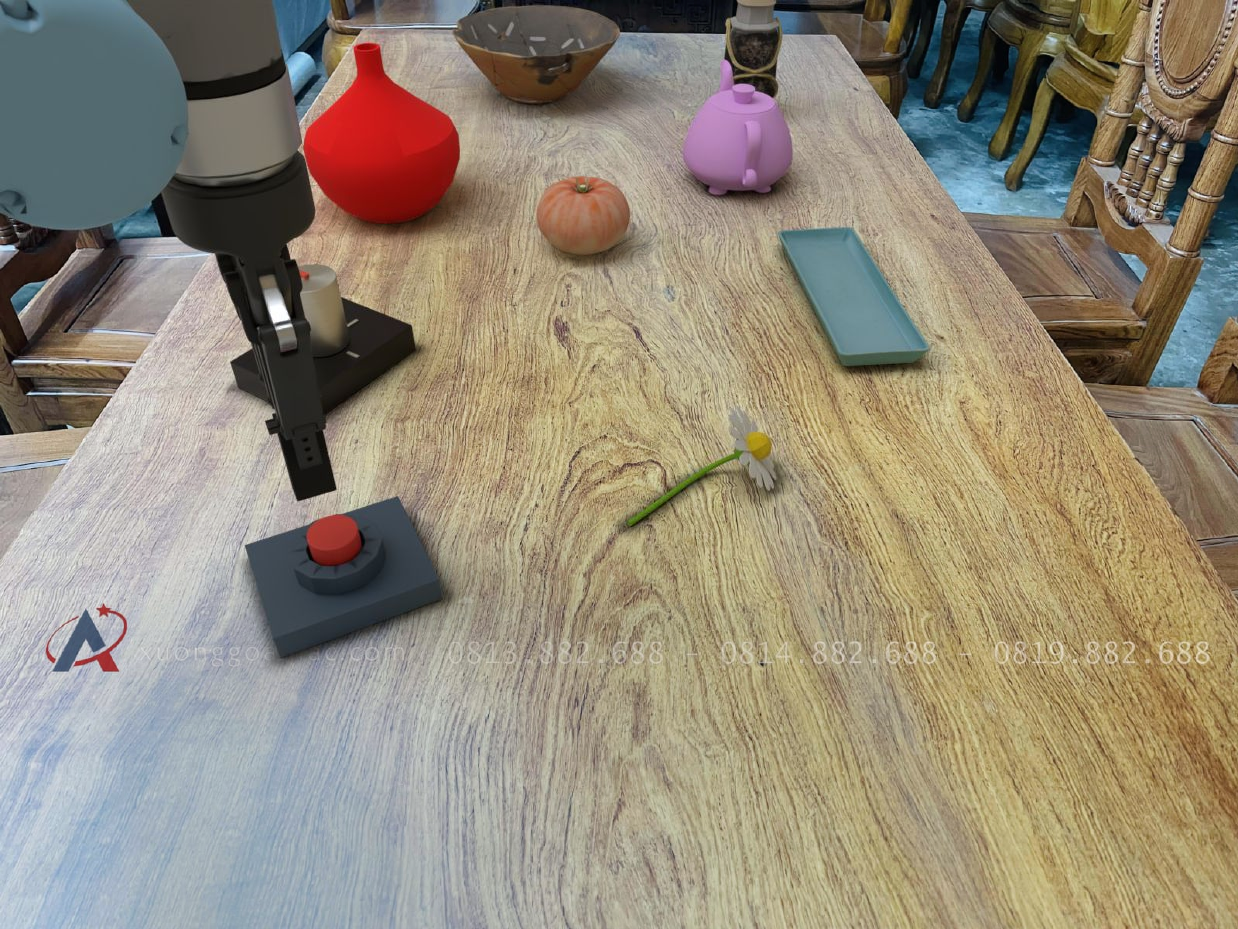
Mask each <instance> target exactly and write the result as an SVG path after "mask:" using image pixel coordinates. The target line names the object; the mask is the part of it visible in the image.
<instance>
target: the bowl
mask: <svg viewBox="0 0 1238 929" xmlns="http://www.w3.org/2000/svg"><path fill="white" fill-rule="evenodd" d="M456 27H457V29H455V28H452V35H453V37H454V39H455V40H456V42H457V44H458V46H459V47H460V48H461V49H462V50H463V51H464V53H465V54H466V55H467V56H468V57H469V58H470V59H471V61H472V62H473V63H474V65H475V66H476V67H477V68H478V69H479V71H480V72H481V73H482V74H483V75H484V76H485V78H486V79H487V80H488V81H489V82H490V84H491V85H492V86H493V87H495V89H496V90H497V91H498V92H499V93H500V94H502V95H503V96H504V97H506V98H507V99H510V100H511V101H514V102H518V103H523V104H531V105H532V104H535V105H537V104H539V105H540V104H544V103H545V104H547V103H549V102H556V101H559V100H562V99H563V98H565V97H566V96H568V95H569V94H570V93H573V92H574V91H575V90H577V89H578V87H580V85H581V84H582V83H583V82H584V81H585V80H586V79H587V78H588V77H589V75H591V73H592V72H593V71H594V70H595V68H596V67H597V66H598V64H599V63H600V62H601V61H602V59H603V58H604V57H605V56H606V55H607V54H608V53H609V51H611V49H612V48H613V46H615V44H616V42H617V41H618V39H619V38H620V35H621V30H620V28H619V26H618V25H617V23H616V22H615V21H614V20H611V19H610V18H608V17H607V16H605V15H602V14H600V13H598V12H595V11H592V10H589V9H584V8H579V7H574V6H573V7H572V6H567V5H566V6H565V5H548V4H547V5H545V4H543V5H542V4H541V5H539V4H538V5H537V4H535V5H520V6H519V5H518V6H514V5H513V6H502V7H501V6H500V7H495V8H488V9H485V10H482V11H478V12H475V13H472V14H468V15H466V16H463V17H462V18H460V19H458V20H457V21H456Z"/></svg>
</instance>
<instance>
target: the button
mask: <svg viewBox="0 0 1238 929" xmlns="http://www.w3.org/2000/svg"><path fill="white" fill-rule="evenodd" d="M317 520H318V521H316V520H315V521H316V522H315V523H314V524H312V526H311V527H310V528H309V530H308V532H307V541H308V545H309V548H310V551H311V554H312V557H313V559H314V560H315V561H316V562H317V563H319V564H321V565H324V566H339V565H342V564H345V563H348V562H350V561H351V560H353V559H354V558H355V557H356V556H357V555H358V554H359V552H360V550H361V546H362V543H361V539H360V535H359V531H358V527H357V524H356V522H355V521H354V520H353V519H351V518H350V517H347V516H344V515H334V514H331V515H326V516H324V517H322V518H319V519H317Z"/></svg>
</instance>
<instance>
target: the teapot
mask: <svg viewBox="0 0 1238 929" xmlns="http://www.w3.org/2000/svg"><path fill="white" fill-rule="evenodd" d="M719 64H720V67H719V68H720V82H719V87H718V91H717V92H716V93H714V94H713V95H711V96H710V97H709V98H708V99H707V101H705V103H704V104H703V105H702V107H700V110H699V111H698V112H697V114H696V116H695V117H694V119H693V120H692V122H691V123H690V126H689V128H688V130H687V132H686V136H685V139H684V143H683V147H682V158H683V162H684V164H685V166H686V167H687V169H688V170H689V172H690V173H691V174H692V175H693V176H694V177H695V179H697V180H698V181H700V182H701V183H703V184H705V185H707V186H709V188H708V192H709V193H710V194H712V195H717V196H720V195H721V196H722V195H724V194H726V193H727V192H728V191H754V192H756V193H764V194H765V193H768V192H770V191H771V189H772V188H771V187H770V186H771V185H773V184H775V183H776V182H777V181H778V180H780V179H781V178H782V177H783V176H784V175H785V174H786V173H787V172H788V171H789V169H790V168H791V166H792V163H793V156H794V152H793V151H794V150H793V149H794V148H793V142H792V136H791V132H790V128H789V126H788V123H787V121H786V119H785V117H784V115H783V113H782V110H781V108H780V107H779V105H778V103H777V102H776V101H775V99H774V98H771V97H770V96H768V95H766V94H764V93H761V92H757V91H755V87H754V86H752V85H749V84H737V85H734V80H733V73H732V68H731V65H730V63H729V62H728V61H727V60H724V59H721V60H720V63H719Z"/></svg>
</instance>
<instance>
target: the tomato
mask: <svg viewBox="0 0 1238 929" xmlns="http://www.w3.org/2000/svg"><path fill="white" fill-rule="evenodd" d="M630 220H631V210H630V206H629V203H628V200H627V198H626V196H625V194H624V193H623V191H622V190H621V189H620V188H619V187H618V186H616V185H614V184H613V183H611V182H610V181H608V180H605V179H603V178H600V177H596V176H585V175H579V176H570V177H568V178H564V179H561V180H558V181H556V182H555V183H552V184H551V185H550V186H549V187H548V188H546V190H544V192H543V193H542V195H541V197H540V198H539V200H538V204H537V206H536V222H537V226H538V229H539V231H540V233H541V235H542V236H543V238H544V239H545V240H547V242H548V243H549V244H550V245H551V246H553V247H555V248H556V249H558V250H559V251H562V252H565V253H568V254H572V255H580V256H582V255H583V256H587V255H596V254H598V253H601V252H605V251H607V250H608V249H611V248H613V247H614V246H615V245H617V244H618V243H619V242H620V241H621V240H622V238H623V237H624V235H625V234H626V232H627V231H628V227H629V225H630Z"/></svg>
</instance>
